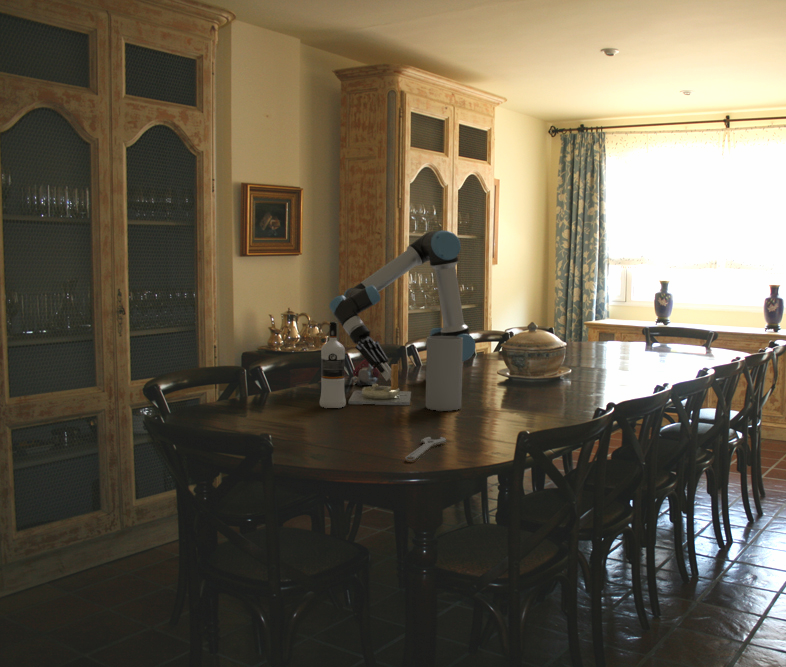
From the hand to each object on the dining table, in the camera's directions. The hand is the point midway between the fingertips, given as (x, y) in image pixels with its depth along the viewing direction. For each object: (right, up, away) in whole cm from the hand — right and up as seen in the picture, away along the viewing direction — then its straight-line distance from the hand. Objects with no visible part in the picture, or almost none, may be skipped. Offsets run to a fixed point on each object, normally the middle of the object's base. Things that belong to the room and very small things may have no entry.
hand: (391, 378), depth 276 cm
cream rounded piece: (-4, -6, -3) cm, 8 cm away
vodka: (-20, -9, -18) cm, 29 cm away
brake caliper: (-11, -5, +30) cm, 32 cm away
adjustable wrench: (+9, -16, -77) cm, 79 cm away
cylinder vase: (+19, -10, -18) cm, 28 cm away
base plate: (-4, -8, -2) cm, 9 cm away
